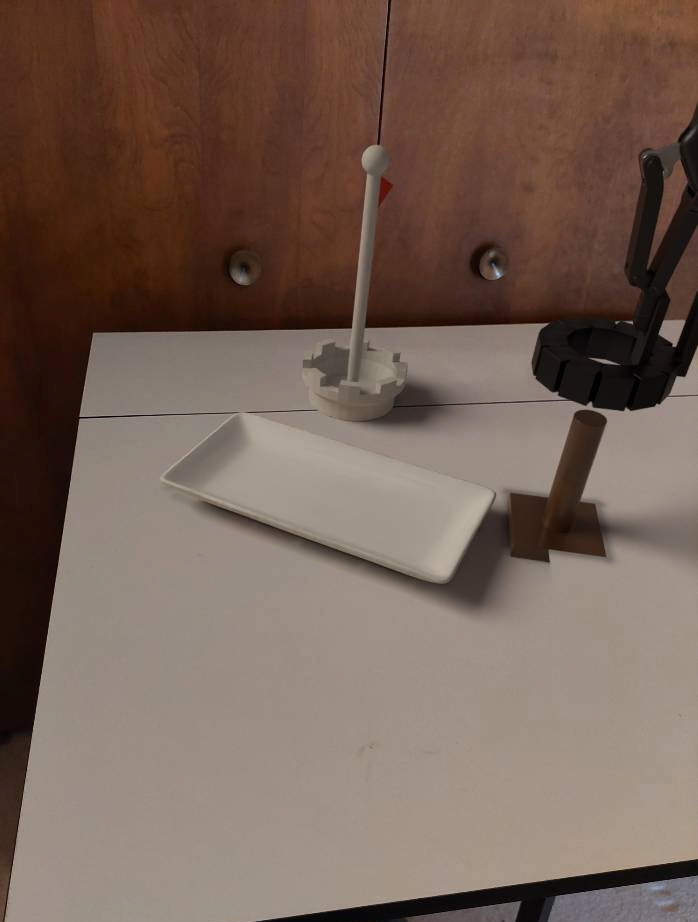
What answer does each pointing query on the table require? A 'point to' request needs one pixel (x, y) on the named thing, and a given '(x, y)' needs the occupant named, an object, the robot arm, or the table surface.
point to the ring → (603, 364)
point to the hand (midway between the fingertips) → (657, 366)
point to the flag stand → (358, 332)
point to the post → (562, 501)
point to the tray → (336, 495)
